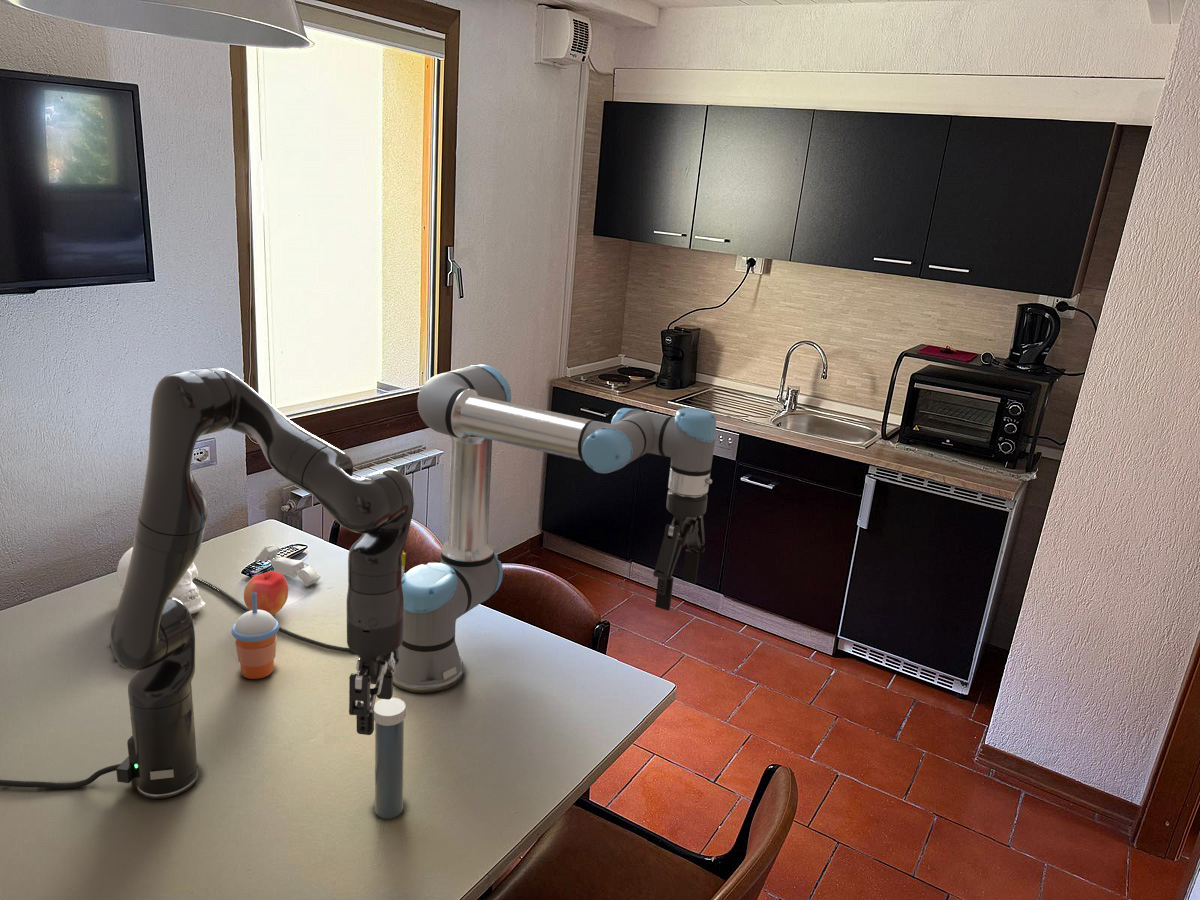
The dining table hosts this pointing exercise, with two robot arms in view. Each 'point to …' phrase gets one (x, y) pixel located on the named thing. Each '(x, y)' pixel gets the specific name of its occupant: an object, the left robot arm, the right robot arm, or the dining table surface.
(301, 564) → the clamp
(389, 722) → the lid
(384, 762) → the jar
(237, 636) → the cup with straw
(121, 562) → the skull
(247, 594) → the apple
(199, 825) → the dining table surface
